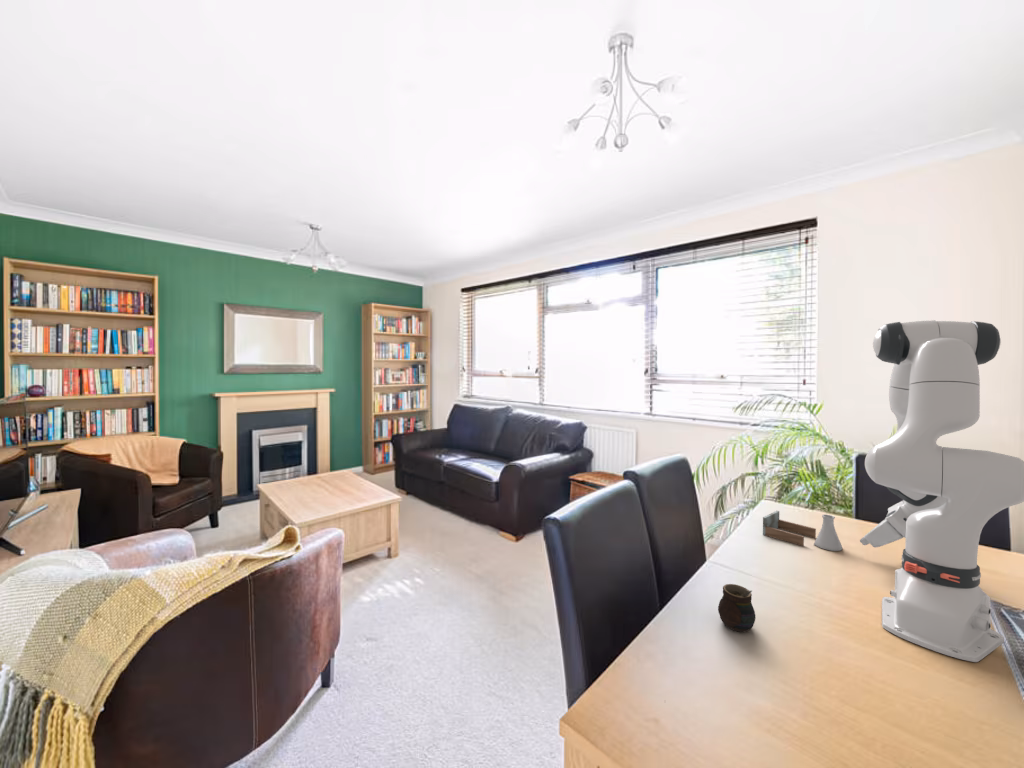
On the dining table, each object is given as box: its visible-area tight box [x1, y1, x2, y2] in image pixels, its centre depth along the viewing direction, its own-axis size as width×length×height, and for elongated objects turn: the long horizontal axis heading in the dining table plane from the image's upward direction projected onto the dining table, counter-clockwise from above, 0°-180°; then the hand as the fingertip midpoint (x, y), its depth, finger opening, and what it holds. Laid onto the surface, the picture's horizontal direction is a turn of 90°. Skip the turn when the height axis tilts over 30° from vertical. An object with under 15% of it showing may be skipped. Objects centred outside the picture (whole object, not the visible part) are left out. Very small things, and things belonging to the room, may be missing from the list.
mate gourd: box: [717, 583, 756, 633], centre depth 89 cm, size 7×8×10 cm
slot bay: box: [762, 510, 817, 547], centre depth 139 cm, size 12×12×6 cm
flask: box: [813, 513, 843, 552], centre depth 130 cm, size 7×7×10 cm
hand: (862, 541), depth 123 cm, fingers closed
